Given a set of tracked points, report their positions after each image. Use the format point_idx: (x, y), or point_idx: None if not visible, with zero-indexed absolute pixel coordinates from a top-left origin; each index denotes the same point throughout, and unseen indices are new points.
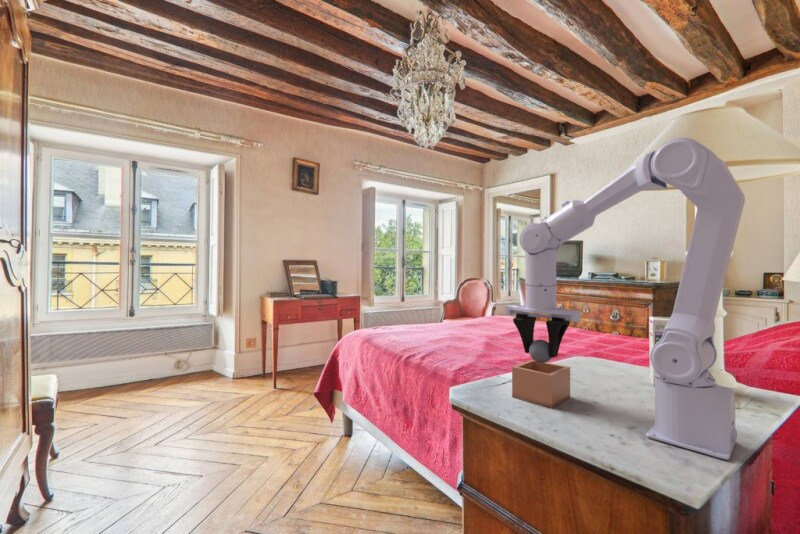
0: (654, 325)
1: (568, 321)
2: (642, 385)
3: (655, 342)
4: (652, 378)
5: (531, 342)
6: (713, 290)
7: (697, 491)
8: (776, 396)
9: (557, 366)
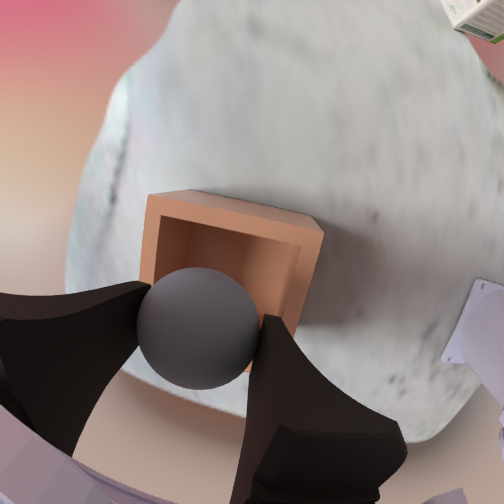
0: None
1: (386, 478)
2: (437, 27)
3: None
4: (457, 16)
5: (126, 315)
6: None
7: (436, 432)
8: None
9: (270, 237)
